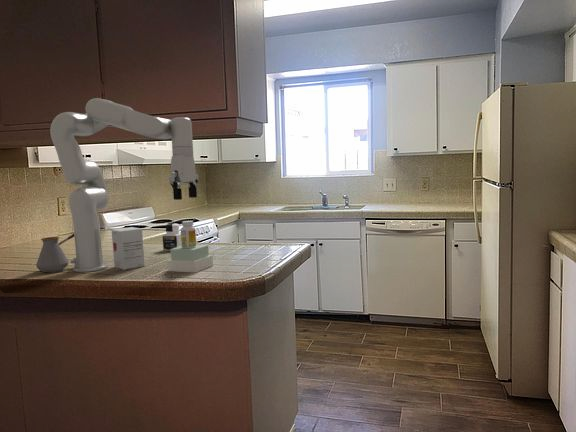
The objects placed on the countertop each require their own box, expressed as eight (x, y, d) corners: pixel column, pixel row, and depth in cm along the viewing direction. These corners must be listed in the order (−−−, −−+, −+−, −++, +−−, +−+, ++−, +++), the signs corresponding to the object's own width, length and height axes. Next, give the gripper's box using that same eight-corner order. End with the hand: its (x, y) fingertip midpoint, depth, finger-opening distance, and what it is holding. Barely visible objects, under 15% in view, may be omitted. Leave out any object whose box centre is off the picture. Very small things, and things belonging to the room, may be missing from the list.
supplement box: (113, 267, 196) (110, 229, 194) (135, 263, 202) (132, 226, 200) (123, 270, 189) (120, 231, 188) (145, 266, 195) (142, 228, 194)
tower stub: (167, 271, 184) (166, 249, 183) (186, 264, 195) (185, 244, 194) (195, 272, 179) (194, 250, 178) (213, 265, 190) (211, 244, 189)
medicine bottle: (163, 250, 230) (161, 224, 229) (170, 248, 237) (168, 222, 236) (177, 250, 228) (175, 224, 227) (184, 248, 235) (182, 222, 234)
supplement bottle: (197, 245, 189) (195, 220, 188) (195, 248, 184) (193, 221, 183) (182, 246, 189) (181, 220, 188) (180, 248, 183) (179, 222, 182)
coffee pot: (46, 275, 186) (42, 235, 184) (31, 272, 193) (27, 233, 191) (97, 264, 203) (94, 228, 201) (82, 262, 210) (79, 226, 208)
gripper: (187, 152, 192) (190, 196, 194) (159, 152, 177) (162, 200, 178) (204, 151, 190) (206, 196, 191) (177, 151, 174) (180, 200, 175)
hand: (185, 198), depth 185 cm, fingers open, 9 cm apart
